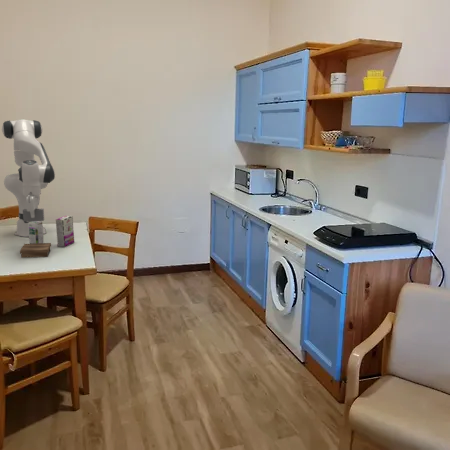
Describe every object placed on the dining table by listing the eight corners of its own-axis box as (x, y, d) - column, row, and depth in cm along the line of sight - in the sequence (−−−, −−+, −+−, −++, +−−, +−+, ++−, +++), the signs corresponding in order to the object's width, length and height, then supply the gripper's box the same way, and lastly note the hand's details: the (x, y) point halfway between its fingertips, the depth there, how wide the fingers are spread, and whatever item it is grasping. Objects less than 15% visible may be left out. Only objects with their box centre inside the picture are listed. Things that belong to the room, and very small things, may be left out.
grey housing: (44, 219, 259) (43, 208, 258) (43, 220, 255) (42, 210, 254) (24, 219, 257) (24, 209, 255) (23, 221, 253) (22, 210, 251)
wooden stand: (25, 250, 265) (24, 243, 264) (51, 249, 268) (50, 242, 267) (20, 257, 252) (19, 250, 251) (48, 256, 255) (47, 249, 254)
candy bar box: (66, 241, 285) (65, 215, 281) (74, 242, 284) (73, 215, 280) (56, 246, 274) (55, 219, 271) (64, 247, 273) (63, 219, 270)
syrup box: (29, 247, 273) (27, 222, 269) (35, 244, 278) (34, 220, 275) (37, 247, 271) (36, 223, 268) (44, 245, 277) (42, 221, 274)
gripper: (35, 194, 243) (37, 220, 246) (40, 188, 263) (42, 212, 266) (22, 194, 242) (24, 220, 245) (28, 188, 261) (30, 213, 264)
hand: (33, 216), depth 255 cm, fingers closed on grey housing, 4 cm apart
